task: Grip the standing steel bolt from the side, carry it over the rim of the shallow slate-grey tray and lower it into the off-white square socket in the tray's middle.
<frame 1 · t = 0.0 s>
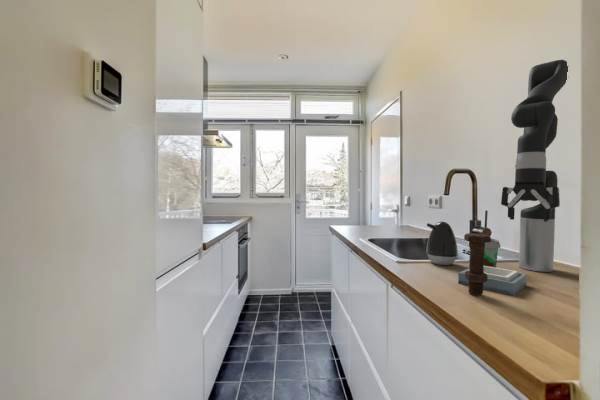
hand: (528, 220, 93), 17 cm above the table, tool pointing down, fingers open, 8 cm apart
socket tray: (492, 284, 84), on the table
food container: (488, 270, 101), on the table
bolt: (475, 295, 76), on the table
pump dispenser: (441, 264, 109), on the table
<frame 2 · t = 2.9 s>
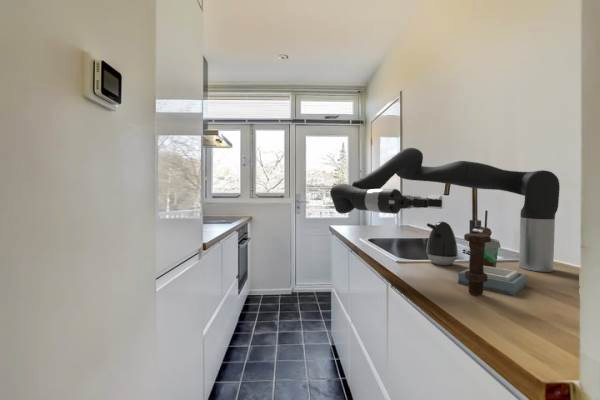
hand: (434, 203, 83), 22 cm above the table, tool horizontal, fingers open, 8 cm apart
nothing on the table moved.
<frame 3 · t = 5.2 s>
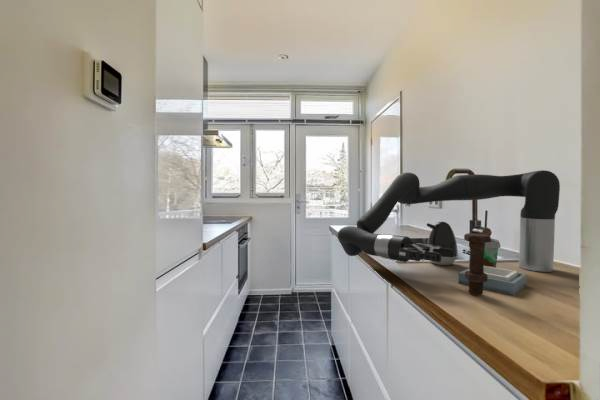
hand: (447, 255, 80), 9 cm above the table, tool horizontal, fingers open, 8 cm apart
nothing on the table moved.
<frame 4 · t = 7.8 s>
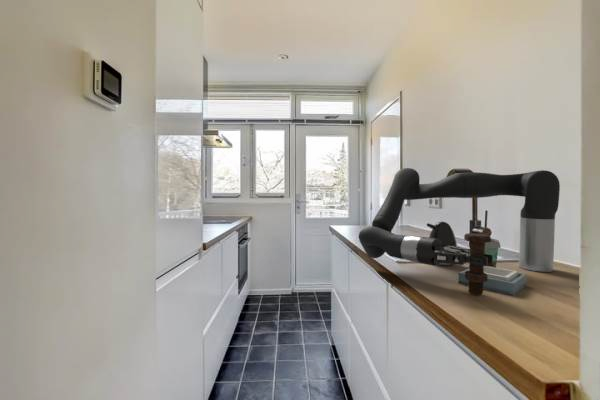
hand: (489, 260, 73), 9 cm above the table, tool horizontal, fingers closed on bolt, 3 cm apart
bolt: (475, 295, 76), on the table, touching gripper
everything else where it was.
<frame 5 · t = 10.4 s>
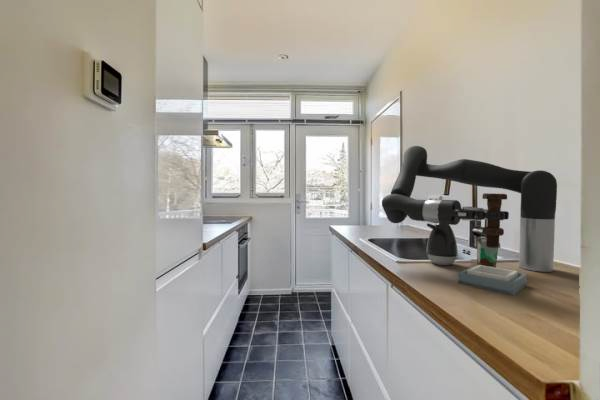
hand: (505, 215, 82), 19 cm above the table, tool horizontal, fingers closed on bolt, 3 cm apart
bolt: (492, 248, 84), point 10 cm above the table, touching gripper
everything else where it was.
when the fingers open (10 cm above the table, at t = 13.0 s): bolt stays where it is, resting on socket tray.
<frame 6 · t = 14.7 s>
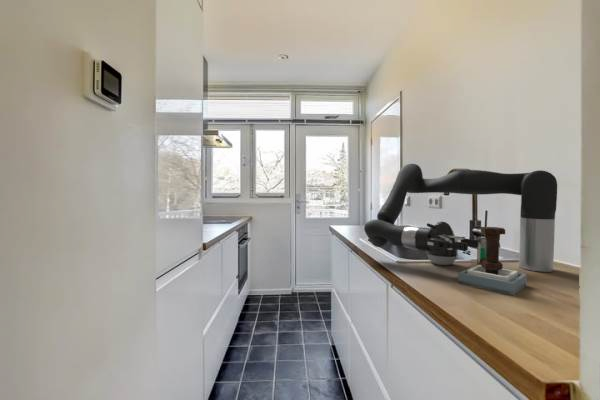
hand: (472, 245, 87), 10 cm above the table, tool horizontal, fingers open, 8 cm apart
bolt: (491, 281, 85), point 1 cm above the table, touching socket tray
everything else where it was.
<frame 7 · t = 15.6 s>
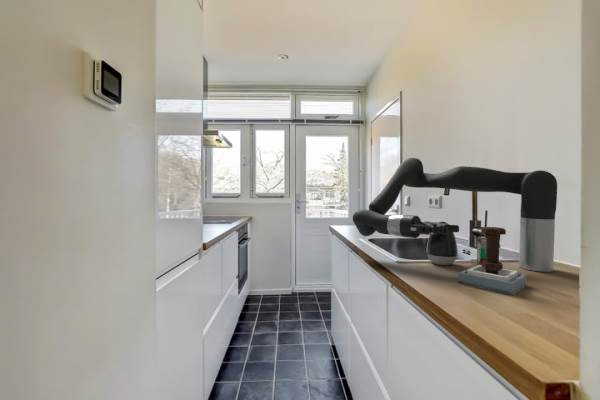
hand: (453, 229, 92), 14 cm above the table, tool horizontal, fingers open, 8 cm apart
nothing on the table moved.
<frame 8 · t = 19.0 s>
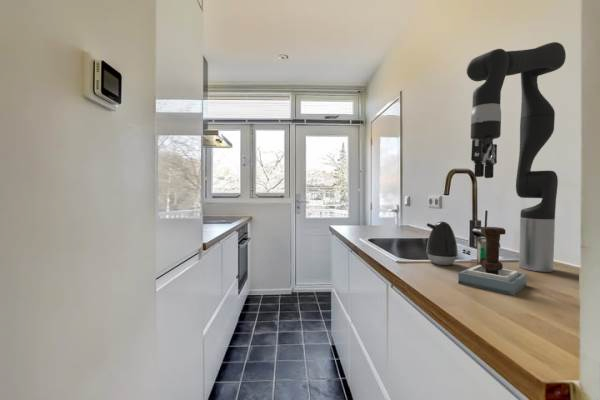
hand: (484, 177, 89), 30 cm above the table, tool pointing down, fingers open, 8 cm apart
nothing on the table moved.
at the end: bolt 0.1 cm off-centre on the socket tray, point 0.6 cm above the socket tray's base; bolt tilted 0°; the gripper is holding nothing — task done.
